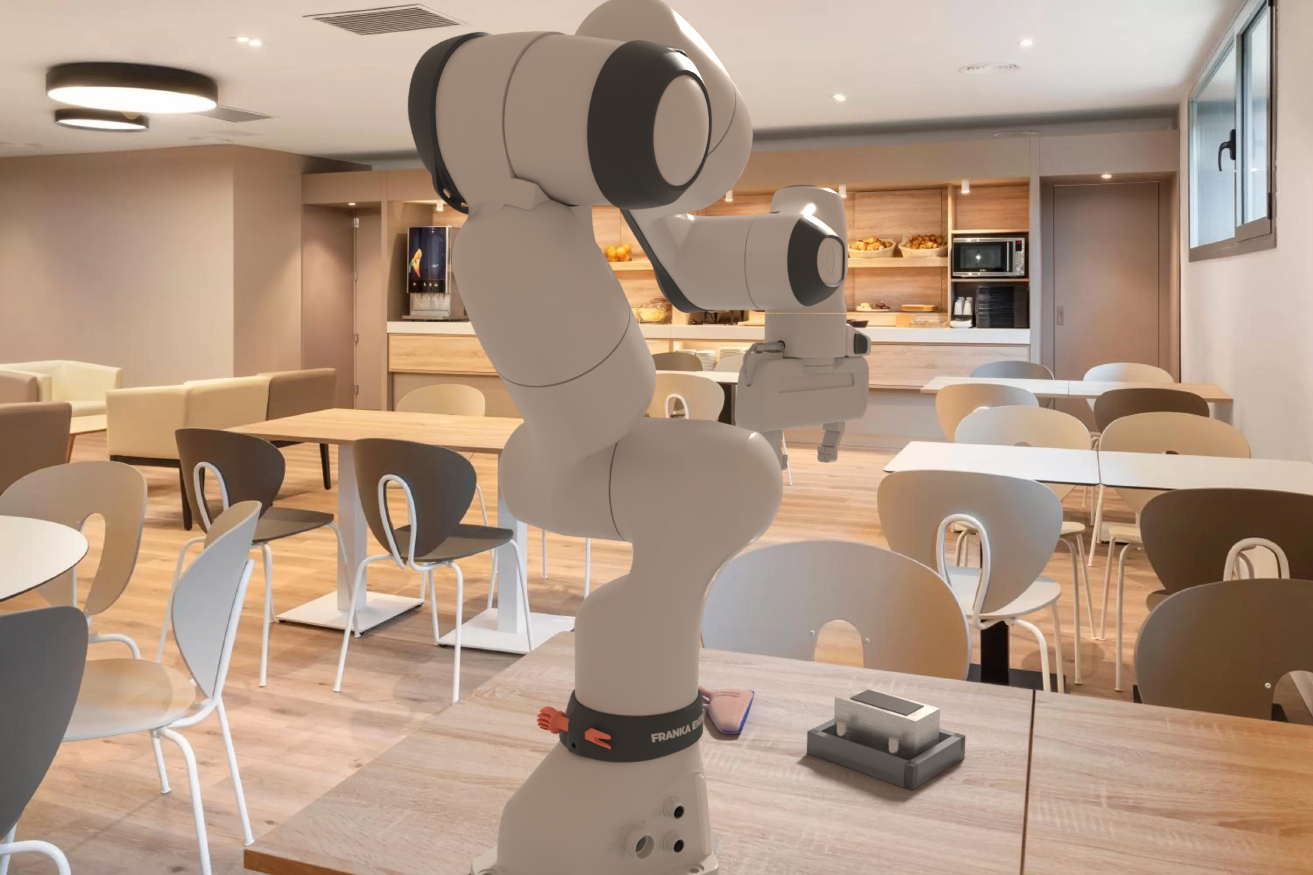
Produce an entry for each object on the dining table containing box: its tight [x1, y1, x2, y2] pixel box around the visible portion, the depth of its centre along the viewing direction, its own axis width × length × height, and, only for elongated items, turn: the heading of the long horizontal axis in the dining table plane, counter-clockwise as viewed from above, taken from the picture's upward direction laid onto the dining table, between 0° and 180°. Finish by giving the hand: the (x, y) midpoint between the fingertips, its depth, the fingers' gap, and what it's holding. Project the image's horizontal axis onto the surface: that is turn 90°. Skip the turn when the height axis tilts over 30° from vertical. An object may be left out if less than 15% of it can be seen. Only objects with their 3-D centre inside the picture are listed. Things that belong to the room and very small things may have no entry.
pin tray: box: [806, 718, 966, 791], centre depth 115 cm, size 11×13×4 cm
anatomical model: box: [698, 684, 755, 735], centre depth 130 cm, size 20×3×15 cm
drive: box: [833, 685, 941, 761], centre depth 115 cm, size 5×10×5 cm, turn 46°
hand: (802, 466), depth 117 cm, fingers open, 8 cm apart
